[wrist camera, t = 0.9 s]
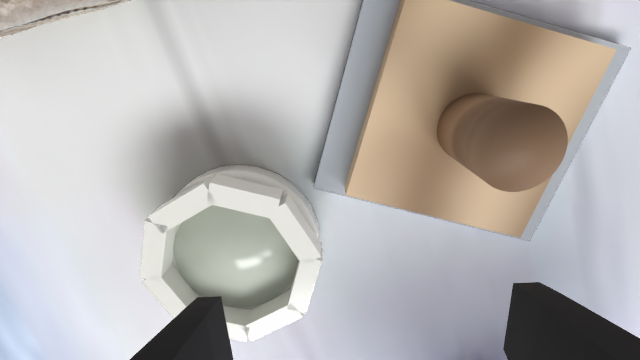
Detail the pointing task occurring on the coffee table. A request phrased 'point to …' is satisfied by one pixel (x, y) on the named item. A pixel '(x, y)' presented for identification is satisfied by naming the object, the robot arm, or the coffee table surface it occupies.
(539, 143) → the lid
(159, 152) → the coffee table surface
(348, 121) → the mat
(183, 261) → the bowl
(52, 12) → the washcloth
